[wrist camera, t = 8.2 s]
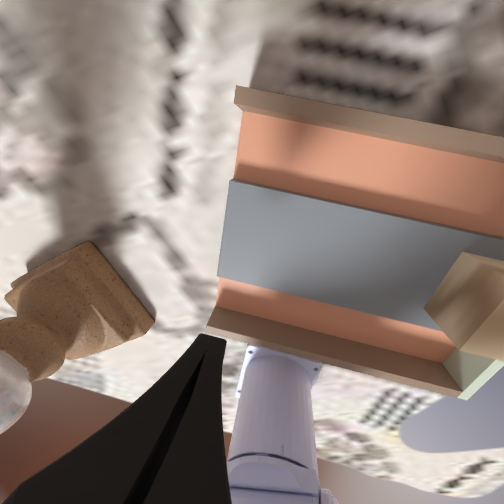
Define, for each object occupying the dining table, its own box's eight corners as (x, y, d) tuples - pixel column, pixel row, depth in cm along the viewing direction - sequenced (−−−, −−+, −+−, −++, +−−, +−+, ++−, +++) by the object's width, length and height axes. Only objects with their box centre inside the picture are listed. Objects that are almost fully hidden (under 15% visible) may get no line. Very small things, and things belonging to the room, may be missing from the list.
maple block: (489, 324, 17) (544, 371, 13) (423, 308, 17) (458, 350, 13) (539, 268, 15) (620, 308, 11) (462, 251, 15) (517, 284, 11)
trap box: (444, 368, 21) (466, 400, 18) (215, 310, 22) (205, 332, 20) (619, 170, 13) (704, 176, 10) (246, 97, 14) (236, 85, 12)
